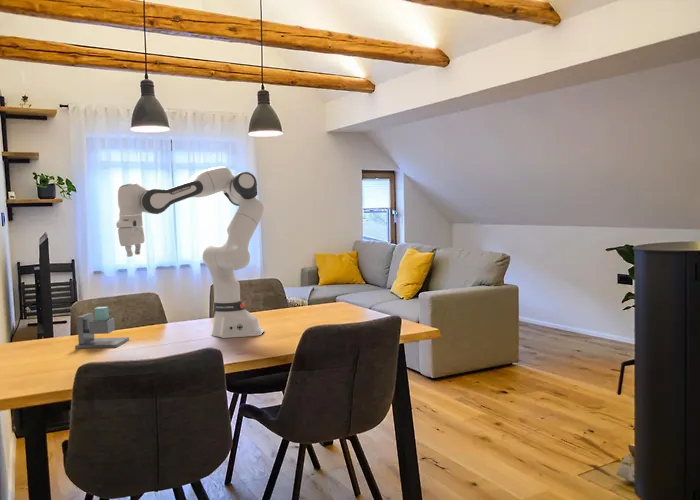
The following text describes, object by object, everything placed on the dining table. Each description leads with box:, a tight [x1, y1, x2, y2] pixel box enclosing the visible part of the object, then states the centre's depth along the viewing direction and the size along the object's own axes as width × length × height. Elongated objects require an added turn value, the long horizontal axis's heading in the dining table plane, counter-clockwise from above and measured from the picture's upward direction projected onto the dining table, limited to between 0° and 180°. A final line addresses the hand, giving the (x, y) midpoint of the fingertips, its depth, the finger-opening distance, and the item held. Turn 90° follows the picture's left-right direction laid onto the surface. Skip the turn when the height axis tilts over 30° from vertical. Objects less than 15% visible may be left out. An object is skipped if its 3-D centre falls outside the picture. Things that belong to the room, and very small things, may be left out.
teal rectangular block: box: [94, 306, 110, 321], centre depth 228 cm, size 4×4×9 cm
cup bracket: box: [74, 312, 130, 350], centre depth 229 cm, size 16×14×12 cm
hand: (133, 255), depth 235 cm, fingers open, 8 cm apart
